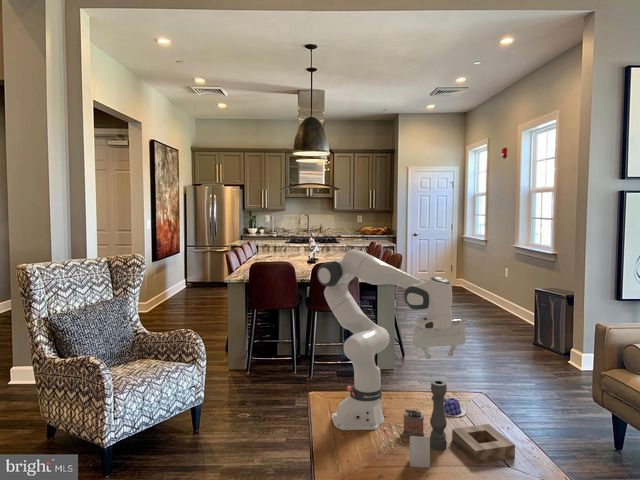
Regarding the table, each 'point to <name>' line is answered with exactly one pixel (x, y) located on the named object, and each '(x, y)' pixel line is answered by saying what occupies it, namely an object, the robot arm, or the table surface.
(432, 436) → the candle holder
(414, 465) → the tea bag
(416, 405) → the table surface
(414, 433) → the lighter
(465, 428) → the walnut collar
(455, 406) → the pudding
